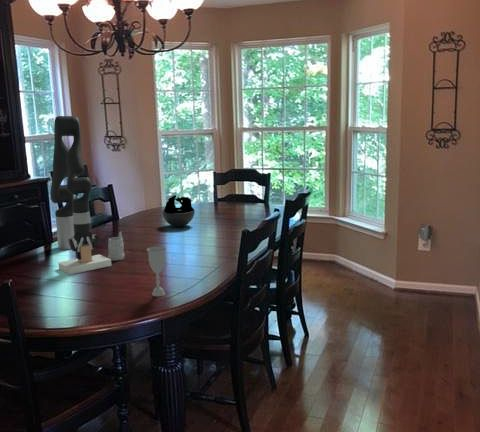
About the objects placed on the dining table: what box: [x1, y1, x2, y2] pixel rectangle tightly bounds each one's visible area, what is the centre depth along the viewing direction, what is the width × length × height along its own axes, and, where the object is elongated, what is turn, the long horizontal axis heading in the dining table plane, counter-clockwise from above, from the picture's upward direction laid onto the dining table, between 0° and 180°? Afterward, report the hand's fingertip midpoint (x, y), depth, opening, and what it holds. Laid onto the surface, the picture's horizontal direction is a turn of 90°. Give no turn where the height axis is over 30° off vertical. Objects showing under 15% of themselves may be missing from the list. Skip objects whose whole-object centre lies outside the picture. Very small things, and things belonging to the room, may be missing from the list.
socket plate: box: [57, 254, 112, 275], centre depth 235 cm, size 12×20×3 cm, turn 130°
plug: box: [78, 244, 92, 264], centre depth 233 cm, size 5×5×9 cm
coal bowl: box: [161, 194, 196, 228], centre depth 316 cm, size 20×20×19 cm
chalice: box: [146, 246, 167, 297], centre depth 196 cm, size 7×7×18 cm
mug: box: [107, 231, 126, 262], centre depth 249 cm, size 8×12×12 cm, turn 169°
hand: (84, 258), depth 234 cm, fingers closed on plug, 4 cm apart
